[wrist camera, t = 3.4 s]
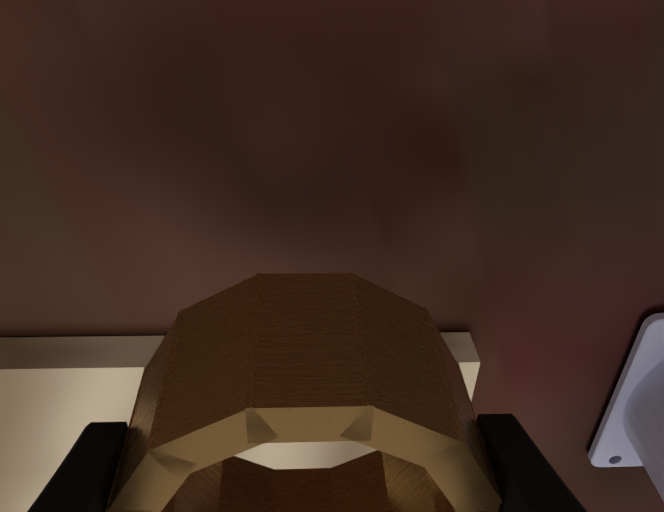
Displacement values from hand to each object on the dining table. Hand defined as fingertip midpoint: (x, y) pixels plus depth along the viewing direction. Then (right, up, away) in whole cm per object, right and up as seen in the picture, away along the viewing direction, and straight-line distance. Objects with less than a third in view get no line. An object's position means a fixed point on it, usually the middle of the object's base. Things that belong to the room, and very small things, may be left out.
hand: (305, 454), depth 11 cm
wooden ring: (0, +1, +1) cm, 1 cm away
